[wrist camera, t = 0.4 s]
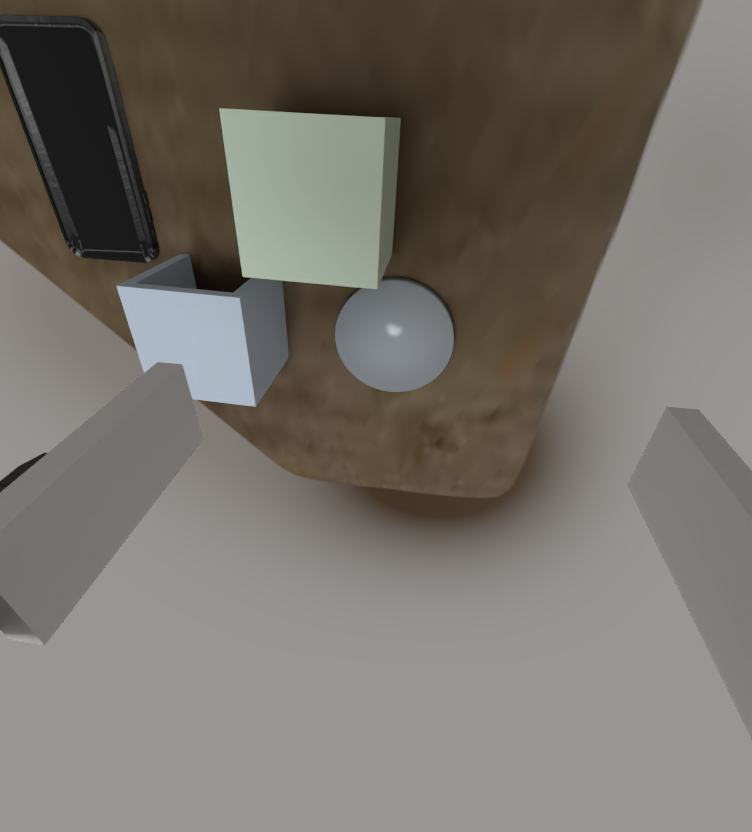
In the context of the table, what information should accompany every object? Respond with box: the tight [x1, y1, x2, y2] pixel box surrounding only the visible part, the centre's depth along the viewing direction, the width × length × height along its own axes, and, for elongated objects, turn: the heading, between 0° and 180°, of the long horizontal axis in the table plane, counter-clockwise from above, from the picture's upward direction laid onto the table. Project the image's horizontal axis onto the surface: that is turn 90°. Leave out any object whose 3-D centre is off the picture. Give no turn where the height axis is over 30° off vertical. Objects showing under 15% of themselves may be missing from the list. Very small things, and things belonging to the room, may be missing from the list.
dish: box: [335, 277, 454, 392], centre depth 36 cm, size 10×10×1 cm
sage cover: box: [219, 108, 401, 289], centre depth 27 cm, size 9×9×8 cm
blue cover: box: [117, 254, 289, 407], centre depth 34 cm, size 9×9×8 cm
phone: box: [0, 15, 159, 263], centre depth 31 cm, size 8×1×15 cm
